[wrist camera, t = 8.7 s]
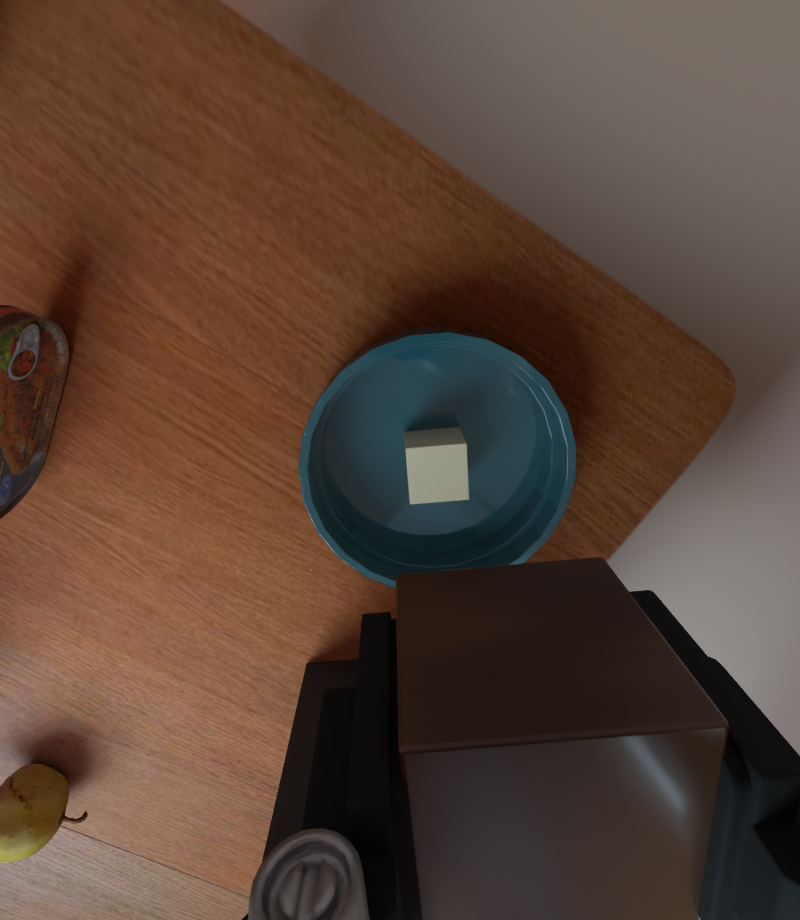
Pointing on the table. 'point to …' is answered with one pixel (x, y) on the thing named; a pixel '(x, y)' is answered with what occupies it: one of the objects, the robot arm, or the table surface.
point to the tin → (27, 397)
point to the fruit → (31, 810)
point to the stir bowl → (433, 407)
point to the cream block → (436, 465)
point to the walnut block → (550, 747)
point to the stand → (304, 747)
